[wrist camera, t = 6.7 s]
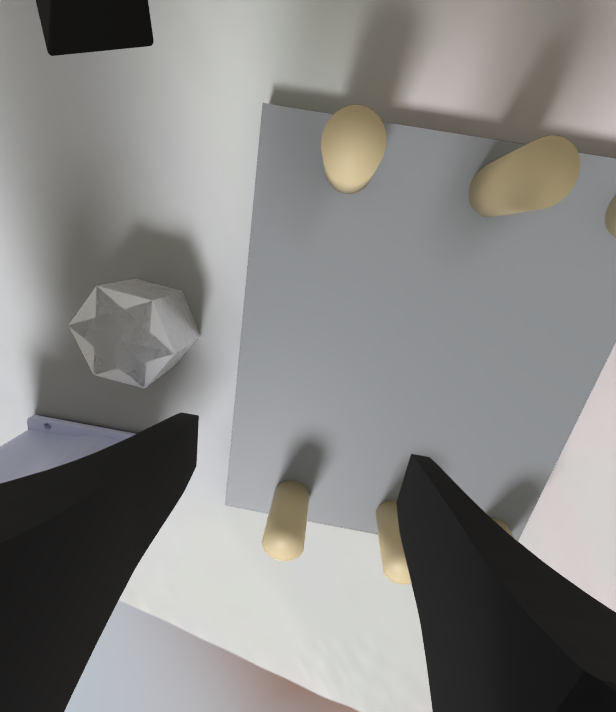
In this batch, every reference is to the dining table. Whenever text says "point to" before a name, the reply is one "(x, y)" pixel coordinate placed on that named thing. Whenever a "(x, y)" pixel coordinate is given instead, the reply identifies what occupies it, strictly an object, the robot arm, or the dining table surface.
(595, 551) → the dining table surface
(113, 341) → the faceted star polyhedron
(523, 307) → the board
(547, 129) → the dining table surface
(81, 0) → the black block
